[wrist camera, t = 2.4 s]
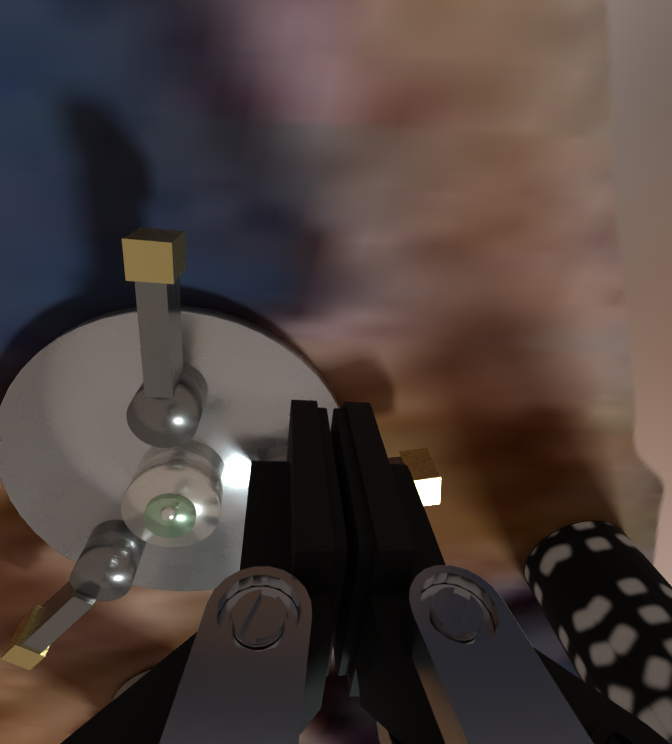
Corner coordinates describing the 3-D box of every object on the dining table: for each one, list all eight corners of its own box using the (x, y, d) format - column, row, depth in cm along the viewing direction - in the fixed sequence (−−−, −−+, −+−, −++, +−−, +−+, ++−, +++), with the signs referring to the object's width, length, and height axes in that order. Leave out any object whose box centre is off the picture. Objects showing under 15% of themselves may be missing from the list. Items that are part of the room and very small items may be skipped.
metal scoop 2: (208, 416, 25) (197, 455, 22) (146, 414, 24) (126, 453, 21) (204, 229, 21) (190, 244, 17) (129, 222, 20) (101, 236, 17)
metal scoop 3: (261, 492, 27) (258, 536, 24) (253, 448, 26) (249, 490, 23) (422, 472, 28) (439, 513, 25) (422, 428, 27) (441, 466, 23)
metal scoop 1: (111, 510, 27) (88, 558, 24) (157, 537, 28) (141, 585, 25) (19, 600, 29) (-12, 654, 26) (65, 620, 30) (40, 674, 27)
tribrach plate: (210, 614, 34) (199, 690, 29) (-63, 473, 27) (-139, 544, 22) (412, 450, 29) (437, 509, 25) (149, 220, 22) (112, 241, 17)
